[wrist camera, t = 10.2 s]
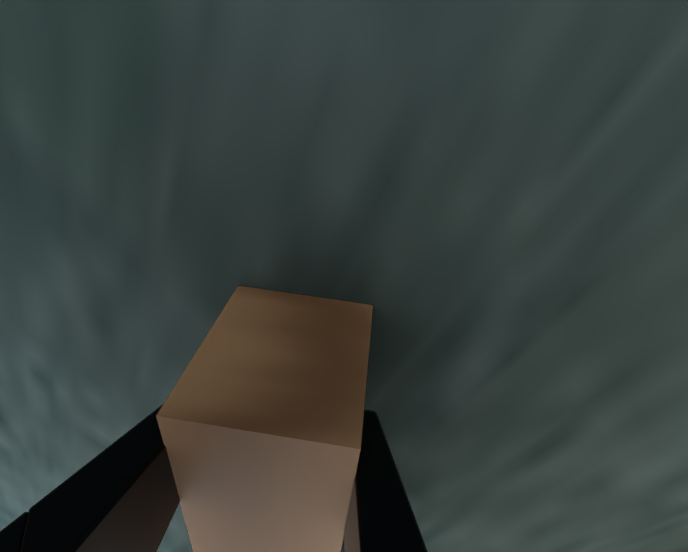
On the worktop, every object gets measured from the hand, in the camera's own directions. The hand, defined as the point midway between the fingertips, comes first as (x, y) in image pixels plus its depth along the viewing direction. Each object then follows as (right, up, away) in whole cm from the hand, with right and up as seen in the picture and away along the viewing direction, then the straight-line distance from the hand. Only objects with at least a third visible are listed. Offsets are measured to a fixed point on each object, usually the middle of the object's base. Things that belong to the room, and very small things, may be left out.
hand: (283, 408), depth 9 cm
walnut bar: (-1, -7, +7) cm, 11 cm away
